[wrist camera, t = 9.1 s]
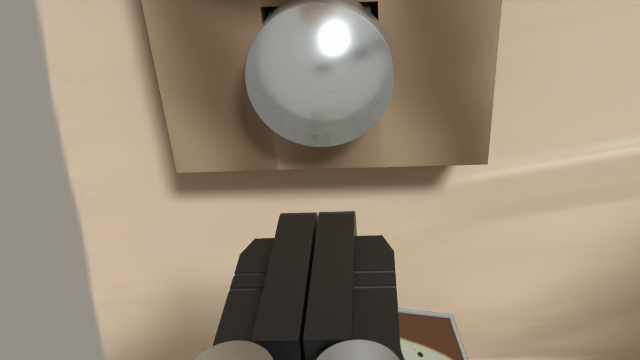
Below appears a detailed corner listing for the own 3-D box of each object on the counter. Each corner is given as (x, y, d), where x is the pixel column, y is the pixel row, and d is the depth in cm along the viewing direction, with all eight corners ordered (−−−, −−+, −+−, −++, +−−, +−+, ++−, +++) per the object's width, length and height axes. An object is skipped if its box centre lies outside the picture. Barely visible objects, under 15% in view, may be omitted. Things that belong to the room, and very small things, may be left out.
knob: (387, -28, 25) (394, 1, 21) (388, 97, 28) (394, 144, 24) (256, -21, 26) (235, 8, 21) (270, 101, 28) (254, 148, 24)
